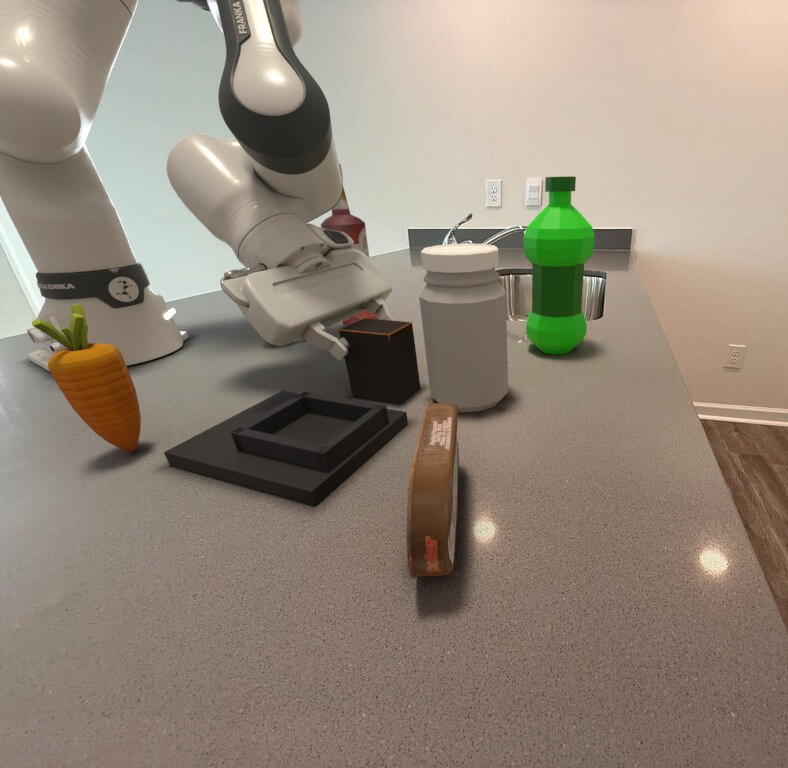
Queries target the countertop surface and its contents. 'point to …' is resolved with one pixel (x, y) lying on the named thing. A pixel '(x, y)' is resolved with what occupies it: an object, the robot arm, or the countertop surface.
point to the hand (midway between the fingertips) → (371, 341)
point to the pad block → (381, 360)
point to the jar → (464, 325)
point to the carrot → (95, 382)
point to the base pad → (291, 444)
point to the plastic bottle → (558, 270)
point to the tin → (434, 493)
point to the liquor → (357, 232)
